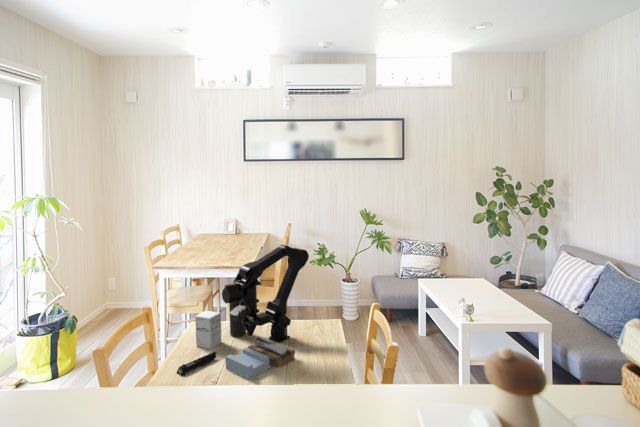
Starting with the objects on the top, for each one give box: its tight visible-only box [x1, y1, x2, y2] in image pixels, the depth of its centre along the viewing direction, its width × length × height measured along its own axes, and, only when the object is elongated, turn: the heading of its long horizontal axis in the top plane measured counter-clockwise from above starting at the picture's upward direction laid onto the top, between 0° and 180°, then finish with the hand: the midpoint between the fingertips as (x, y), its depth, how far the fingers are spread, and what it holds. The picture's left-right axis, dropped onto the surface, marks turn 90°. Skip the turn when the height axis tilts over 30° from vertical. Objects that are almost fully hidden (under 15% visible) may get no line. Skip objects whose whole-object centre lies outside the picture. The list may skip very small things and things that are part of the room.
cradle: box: [225, 346, 270, 380], centre depth 143 cm, size 12×10×4 cm
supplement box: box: [195, 310, 222, 349], centre depth 163 cm, size 7×7×13 cm
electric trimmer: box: [176, 351, 217, 377], centre depth 145 cm, size 4×16×3 cm, turn 143°
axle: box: [254, 336, 288, 358], centre depth 151 cm, size 14×4×4 cm, turn 50°
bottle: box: [228, 299, 247, 338], centre depth 172 cm, size 7×7×20 cm
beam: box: [247, 344, 296, 368], centre depth 151 cm, size 16×9×4 cm, turn 50°
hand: (250, 336), depth 159 cm, fingers closed
